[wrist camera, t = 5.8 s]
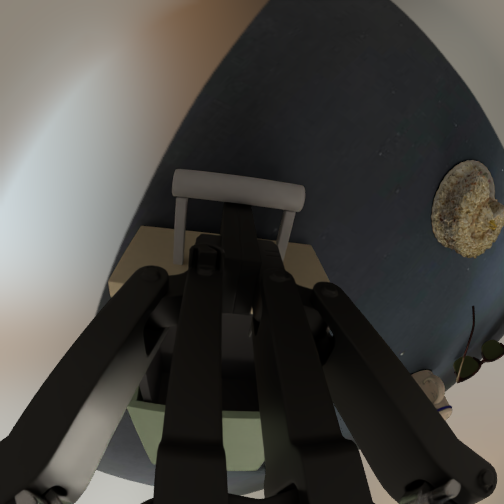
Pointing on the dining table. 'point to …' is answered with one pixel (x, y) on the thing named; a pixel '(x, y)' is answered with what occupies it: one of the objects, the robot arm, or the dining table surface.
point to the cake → (467, 210)
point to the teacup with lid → (434, 391)
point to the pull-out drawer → (176, 262)
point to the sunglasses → (469, 365)
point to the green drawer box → (234, 433)
